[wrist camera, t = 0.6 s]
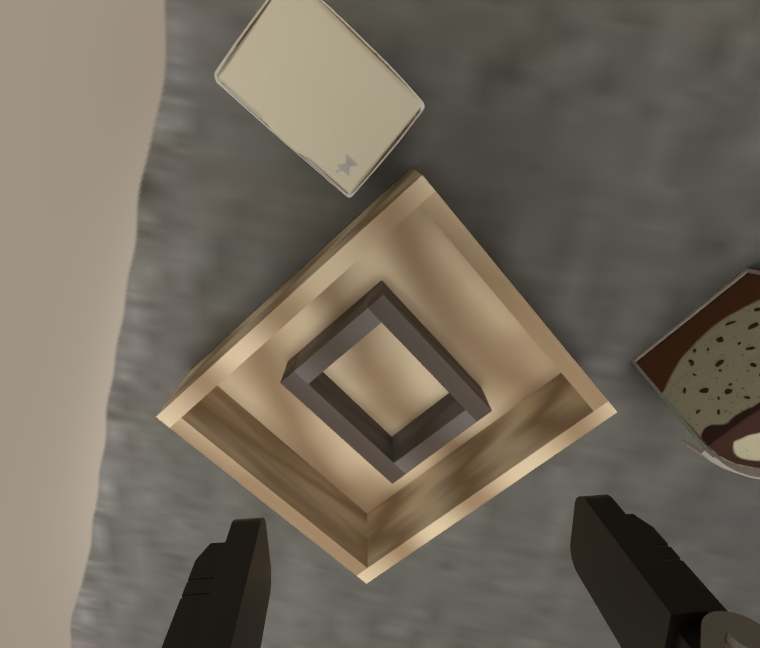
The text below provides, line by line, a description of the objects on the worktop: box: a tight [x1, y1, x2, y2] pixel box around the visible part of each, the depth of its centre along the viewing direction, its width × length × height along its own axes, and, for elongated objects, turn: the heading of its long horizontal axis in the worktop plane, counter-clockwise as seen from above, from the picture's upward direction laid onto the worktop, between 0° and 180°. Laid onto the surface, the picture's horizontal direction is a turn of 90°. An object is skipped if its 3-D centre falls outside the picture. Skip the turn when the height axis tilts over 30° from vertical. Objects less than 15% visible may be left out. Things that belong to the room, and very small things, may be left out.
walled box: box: [156, 167, 617, 584], centre depth 31 cm, size 20×18×6 cm
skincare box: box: [214, 0, 425, 198], centre depth 22 cm, size 6×4×12 cm
